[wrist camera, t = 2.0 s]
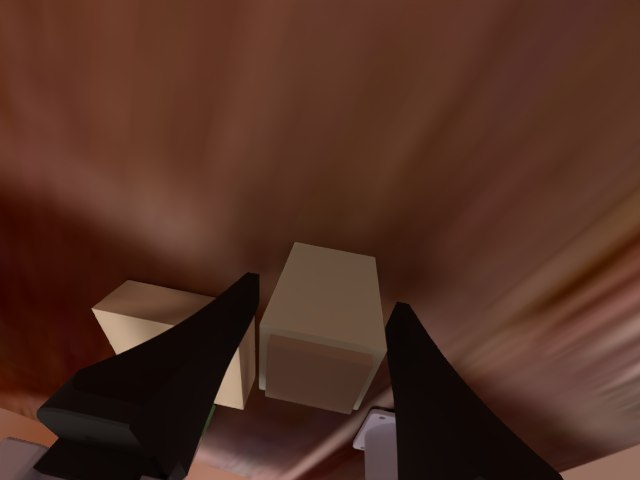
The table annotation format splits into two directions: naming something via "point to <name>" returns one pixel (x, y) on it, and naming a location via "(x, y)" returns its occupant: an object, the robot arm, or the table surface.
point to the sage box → (322, 330)
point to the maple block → (162, 314)
